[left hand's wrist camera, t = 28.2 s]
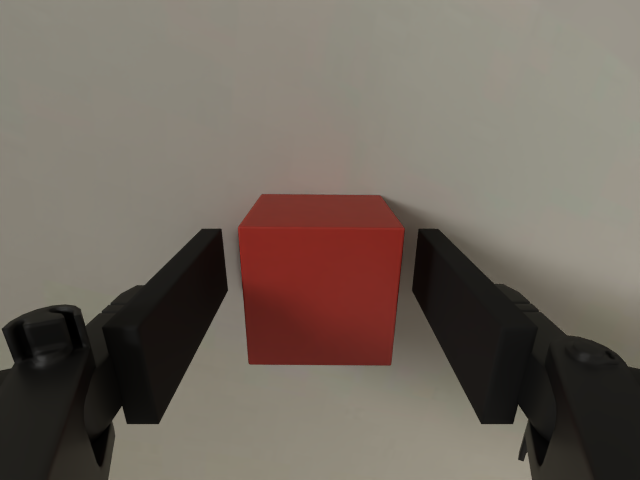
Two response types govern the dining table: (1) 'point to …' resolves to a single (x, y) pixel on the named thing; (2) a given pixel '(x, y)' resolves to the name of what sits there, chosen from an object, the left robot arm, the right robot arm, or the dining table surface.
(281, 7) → the dining table surface
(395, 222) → the brick
